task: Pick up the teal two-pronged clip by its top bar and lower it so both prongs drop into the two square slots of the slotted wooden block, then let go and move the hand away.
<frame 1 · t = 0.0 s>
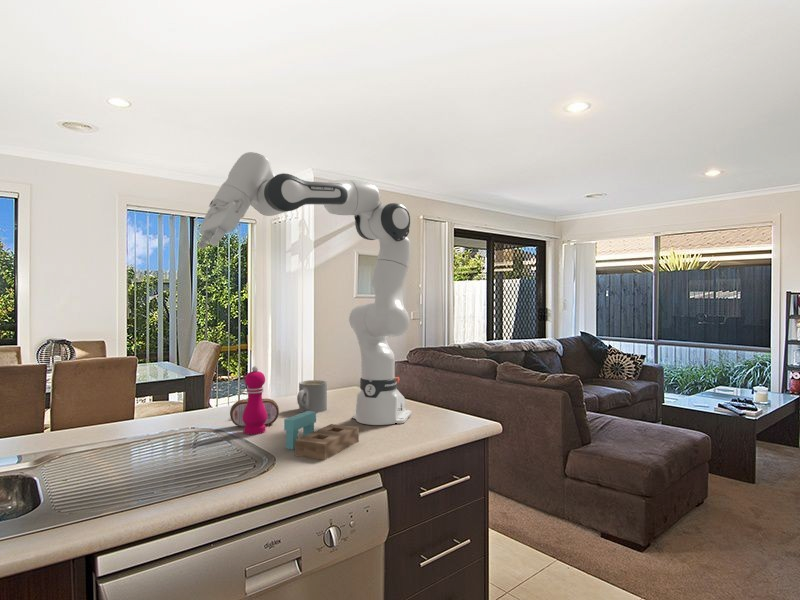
hand: (206, 246, 132), 54 cm above the worktop, tool tilted 30°, fingers open, 8 cm apart
coffee mug: (309, 411, 181), on the worktop
slotted wooden block: (328, 447, 136), on the worktop
pepper mill: (254, 432, 152), on the worktop
tin: (254, 426, 160), on the worktop
clip: (300, 444, 140), on the worktop
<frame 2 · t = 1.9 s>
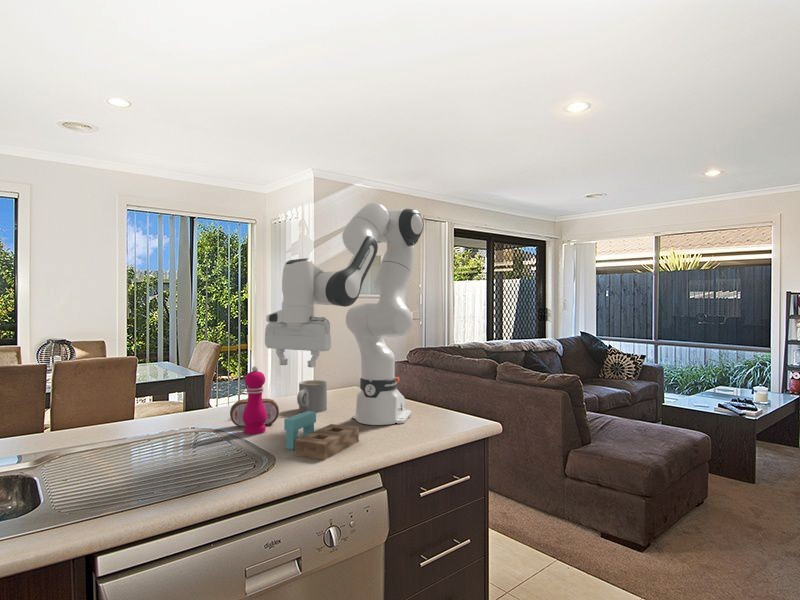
hand: (297, 366, 139), 22 cm above the worktop, tool pointing down, fingers open, 8 cm apart
nothing on the worktop moved.
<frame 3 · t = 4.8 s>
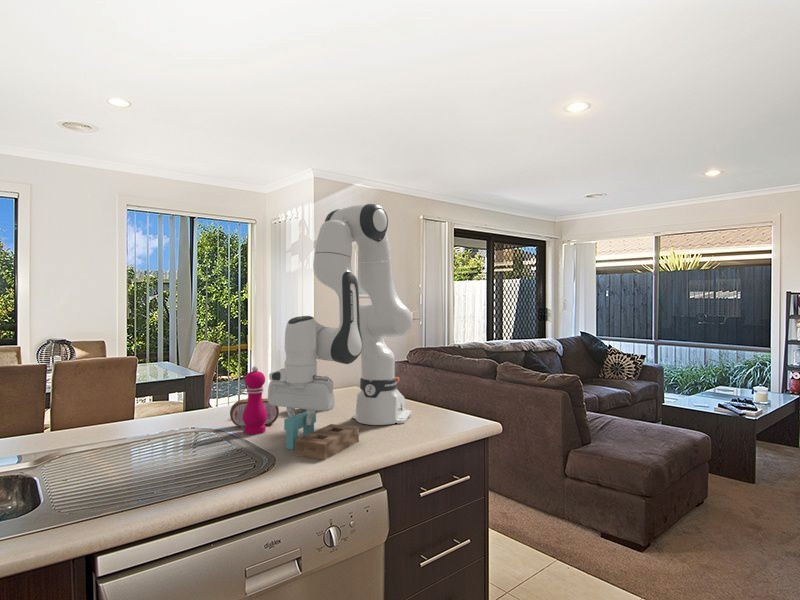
hand: (300, 424, 140), 6 cm above the worktop, tool pointing down, fingers closed on clip, 3 cm apart
clip: (300, 444, 140), on the worktop, touching gripper
everything else where it was.
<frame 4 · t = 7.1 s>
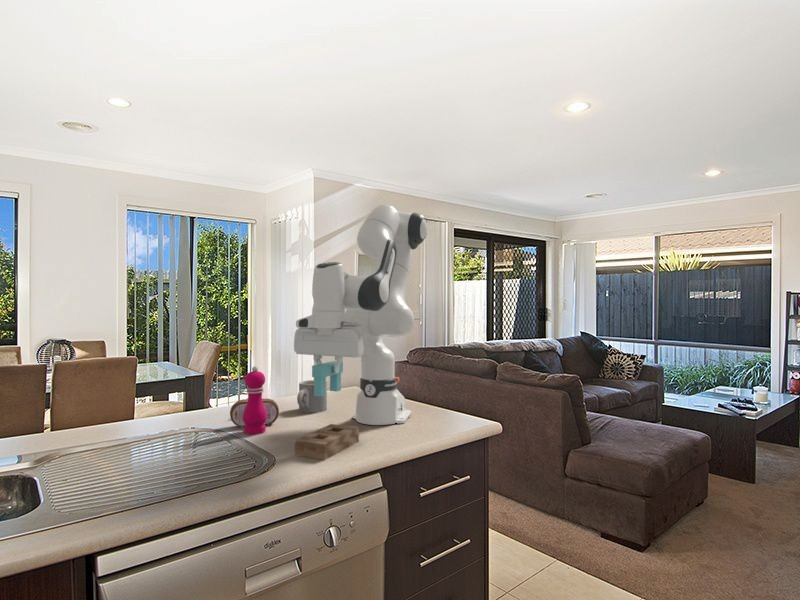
hand: (328, 372, 136), 21 cm above the worktop, tool pointing down, fingers closed on clip, 3 cm apart
clip: (327, 392, 136), point 15 cm above the worktop, touching gripper
everything else where it was.
when the fingers open (6 cm above the worktop, at t = 9.7 s): clip stays where it is, on the worktop.
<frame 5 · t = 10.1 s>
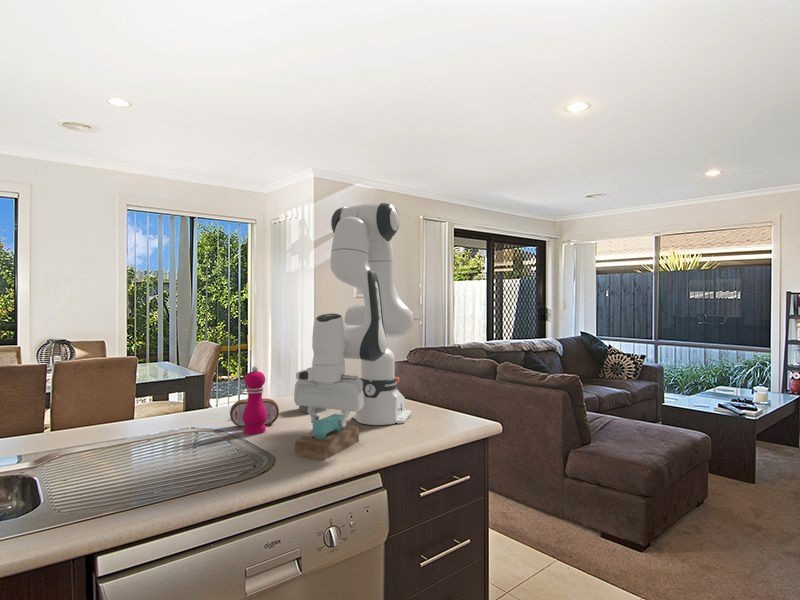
hand: (328, 424, 136), 6 cm above the worktop, tool pointing down, fingers open, 7 cm apart
clip: (328, 447, 136), on the worktop
everything else where it was.
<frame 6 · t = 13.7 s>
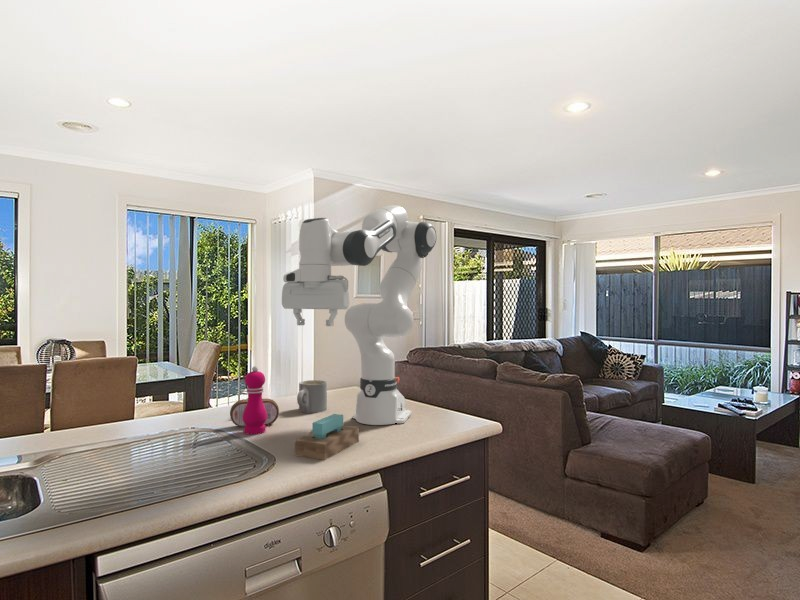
hand: (315, 325, 139), 33 cm above the worktop, tool pointing down, fingers open, 8 cm apart
nothing on the worktop moved.
at the end: clip 0.0 cm from the slotted wooden block (horizontally); clip on the worktop; clip tilted 0° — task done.
